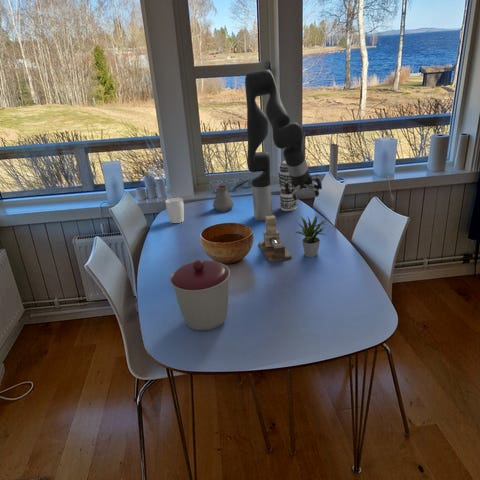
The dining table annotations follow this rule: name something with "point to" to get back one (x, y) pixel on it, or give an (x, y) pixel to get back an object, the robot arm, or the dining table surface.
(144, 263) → the dining table surface
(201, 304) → the canister
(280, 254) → the base board
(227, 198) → the coffee pot
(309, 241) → the house plant
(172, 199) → the cup
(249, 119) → the robot arm
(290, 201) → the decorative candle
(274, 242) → the pipe
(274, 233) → the tan stepped block
